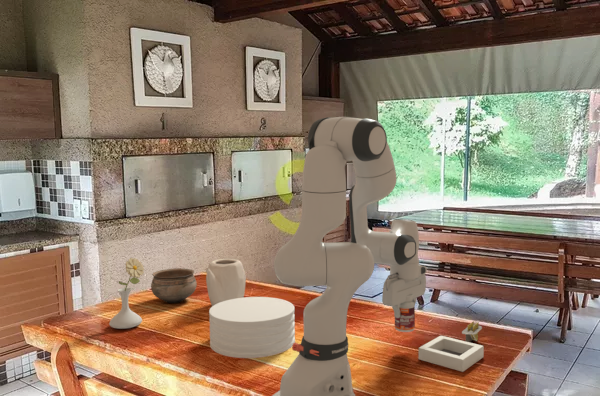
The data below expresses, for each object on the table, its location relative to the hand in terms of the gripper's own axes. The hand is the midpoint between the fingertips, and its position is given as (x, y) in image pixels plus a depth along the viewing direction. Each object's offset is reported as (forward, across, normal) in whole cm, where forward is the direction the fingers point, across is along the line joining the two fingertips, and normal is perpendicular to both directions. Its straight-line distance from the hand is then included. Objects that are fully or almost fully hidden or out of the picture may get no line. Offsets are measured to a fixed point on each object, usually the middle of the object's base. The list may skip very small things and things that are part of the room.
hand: (404, 314), depth 162 cm
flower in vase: (+11, -44, +89) cm, 100 cm away
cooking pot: (+10, -14, +104) cm, 106 cm away
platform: (+12, +20, -13) cm, 27 cm away
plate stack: (+12, -25, +42) cm, 51 cm away
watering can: (+11, -6, +80) cm, 81 cm away
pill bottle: (+5, 0, 0) cm, 5 cm away
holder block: (+12, +4, -14) cm, 18 cm away
